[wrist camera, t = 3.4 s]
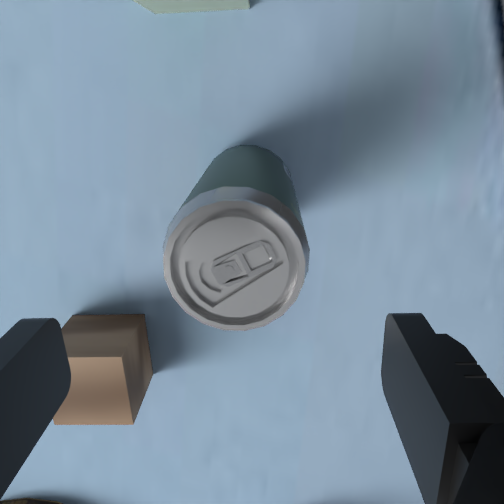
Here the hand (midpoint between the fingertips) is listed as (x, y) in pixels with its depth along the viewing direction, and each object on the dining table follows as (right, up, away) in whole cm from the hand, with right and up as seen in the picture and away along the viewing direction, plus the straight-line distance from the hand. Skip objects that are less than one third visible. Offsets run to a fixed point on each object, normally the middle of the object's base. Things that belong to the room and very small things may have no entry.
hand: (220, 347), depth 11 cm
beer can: (+1, +6, +16) cm, 17 cm away
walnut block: (-9, -4, +20) cm, 22 cm away
